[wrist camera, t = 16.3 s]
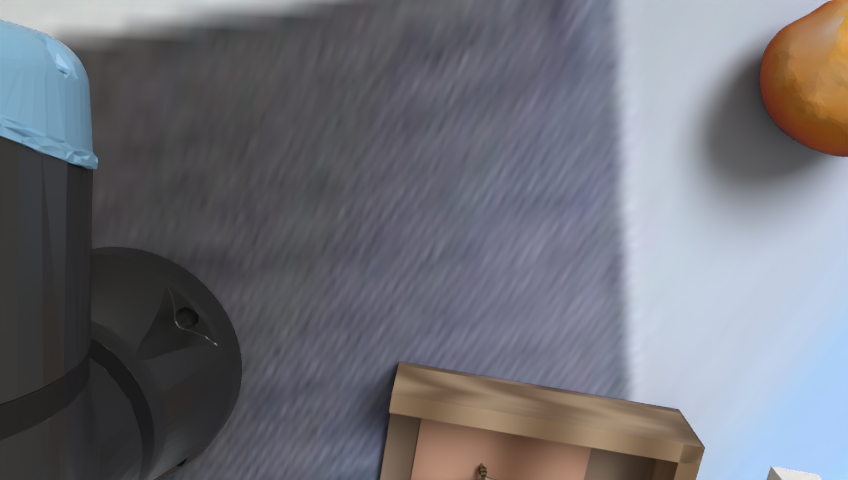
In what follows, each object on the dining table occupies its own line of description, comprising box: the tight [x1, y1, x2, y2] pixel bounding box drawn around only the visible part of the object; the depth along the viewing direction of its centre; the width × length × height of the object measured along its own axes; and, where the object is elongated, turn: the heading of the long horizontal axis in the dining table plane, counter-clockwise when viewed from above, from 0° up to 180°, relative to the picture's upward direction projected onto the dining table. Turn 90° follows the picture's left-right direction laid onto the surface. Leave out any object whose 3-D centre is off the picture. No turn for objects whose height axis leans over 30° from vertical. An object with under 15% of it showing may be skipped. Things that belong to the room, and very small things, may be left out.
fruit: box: [759, 0, 848, 157], centre depth 34 cm, size 8×8×8 cm
